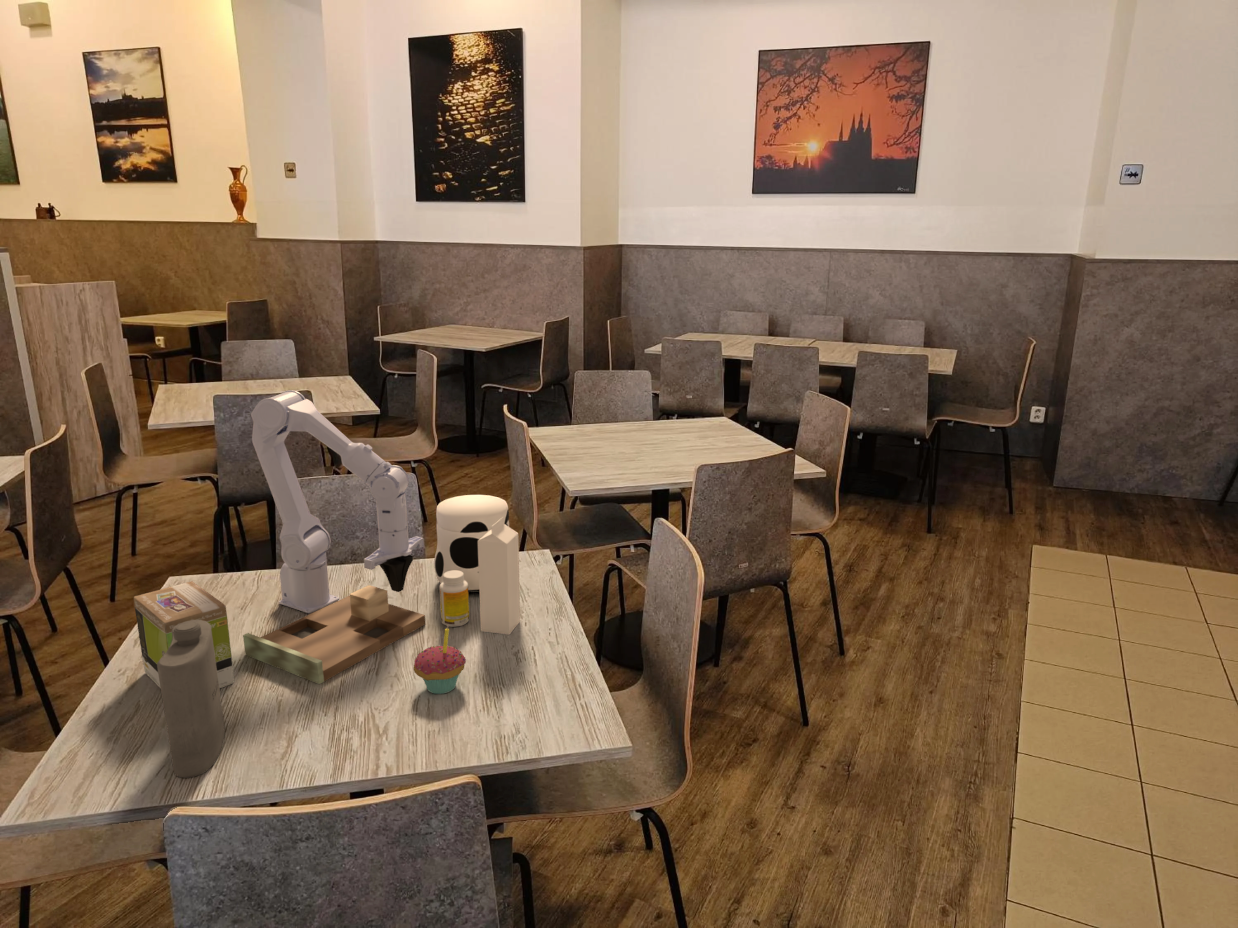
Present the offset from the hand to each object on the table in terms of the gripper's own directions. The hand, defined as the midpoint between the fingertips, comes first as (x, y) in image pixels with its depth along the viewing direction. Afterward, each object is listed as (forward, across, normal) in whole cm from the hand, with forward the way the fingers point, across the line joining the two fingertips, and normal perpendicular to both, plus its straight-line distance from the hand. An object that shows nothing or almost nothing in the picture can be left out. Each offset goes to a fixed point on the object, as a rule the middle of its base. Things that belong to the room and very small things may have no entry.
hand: (397, 589), depth 166 cm
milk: (+4, +4, -23) cm, 24 cm away
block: (+2, -8, 0) cm, 8 cm away
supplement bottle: (+4, +2, -14) cm, 15 cm away
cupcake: (+4, -18, -28) cm, 34 cm away
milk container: (+4, +18, -5) cm, 20 cm away
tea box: (+4, -38, +11) cm, 40 cm away
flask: (+4, -50, -9) cm, 50 cm away
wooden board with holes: (+4, -15, 0) cm, 16 cm away
